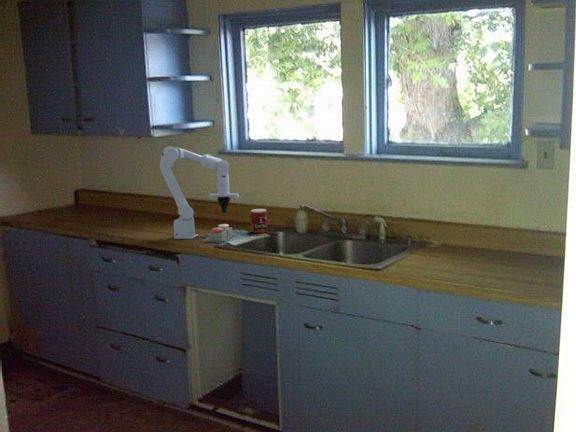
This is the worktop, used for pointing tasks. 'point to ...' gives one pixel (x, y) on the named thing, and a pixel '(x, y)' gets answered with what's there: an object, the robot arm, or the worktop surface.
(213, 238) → the socket board
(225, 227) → the cream plug
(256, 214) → the canned food
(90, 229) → the worktop surface
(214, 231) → the red plug
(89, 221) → the worktop surface
